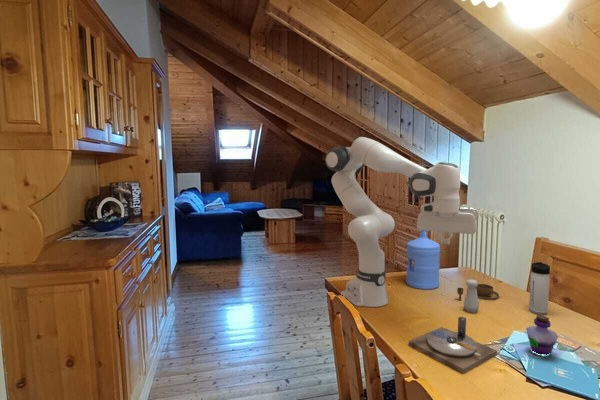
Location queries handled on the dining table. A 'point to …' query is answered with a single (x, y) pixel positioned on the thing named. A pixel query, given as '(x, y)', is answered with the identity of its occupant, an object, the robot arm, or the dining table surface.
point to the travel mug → (539, 288)
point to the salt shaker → (471, 296)
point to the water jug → (423, 263)
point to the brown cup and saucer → (482, 292)
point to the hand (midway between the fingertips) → (445, 243)
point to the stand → (454, 362)
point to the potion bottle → (541, 336)
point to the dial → (453, 341)
